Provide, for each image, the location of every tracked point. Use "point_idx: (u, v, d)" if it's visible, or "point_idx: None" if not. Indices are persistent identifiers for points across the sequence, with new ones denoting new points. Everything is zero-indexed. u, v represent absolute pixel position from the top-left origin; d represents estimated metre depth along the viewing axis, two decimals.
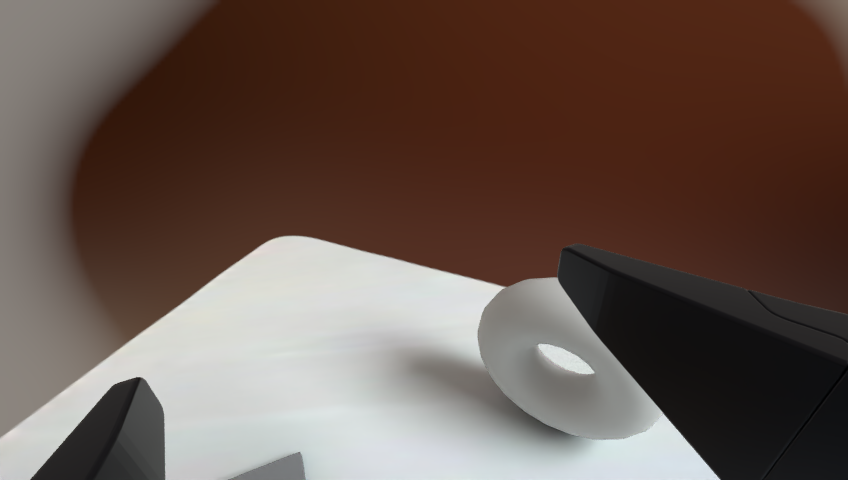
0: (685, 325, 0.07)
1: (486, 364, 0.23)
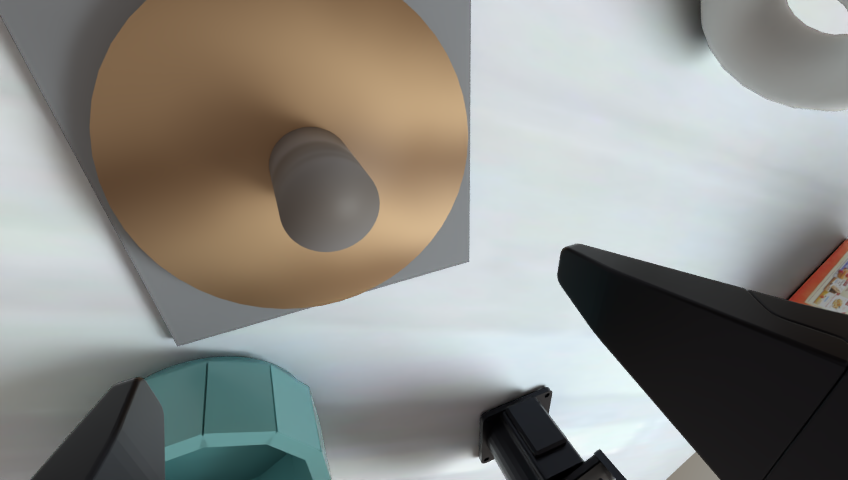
0: (685, 325, 0.07)
1: None
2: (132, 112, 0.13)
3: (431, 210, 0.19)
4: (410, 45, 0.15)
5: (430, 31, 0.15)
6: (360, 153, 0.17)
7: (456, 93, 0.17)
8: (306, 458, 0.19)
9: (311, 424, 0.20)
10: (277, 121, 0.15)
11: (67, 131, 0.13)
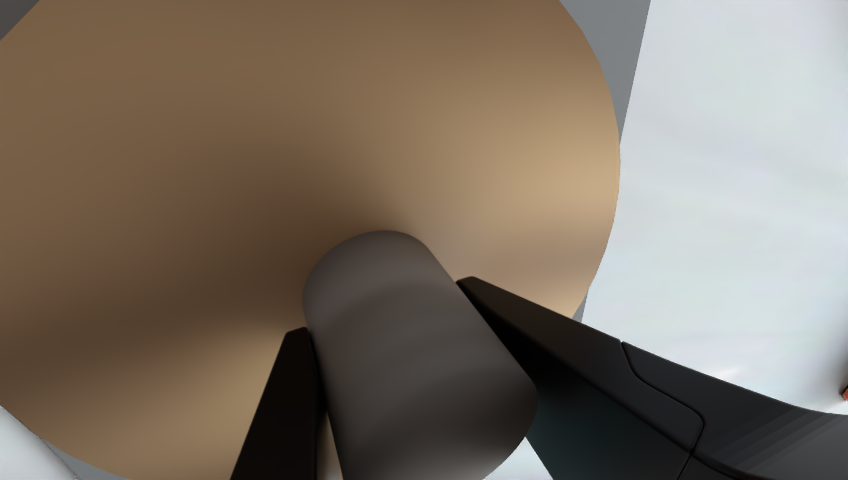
0: (553, 380, 0.06)
1: None
2: (28, 239, 0.06)
3: None
4: (559, 84, 0.09)
5: (594, 58, 0.09)
6: (454, 262, 0.10)
7: (611, 158, 0.10)
8: None
9: None
10: (320, 227, 0.08)
11: None
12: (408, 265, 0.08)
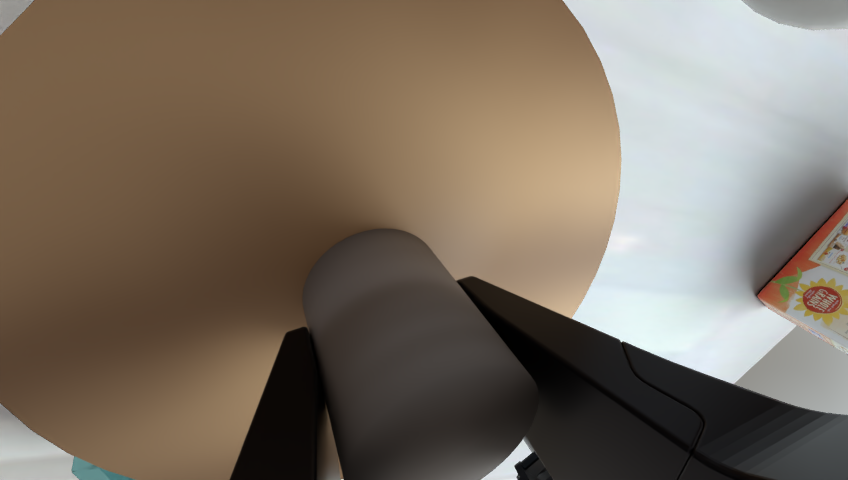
0: (553, 380, 0.06)
1: None
2: (27, 237, 0.06)
3: None
4: (560, 81, 0.09)
5: (595, 56, 0.09)
6: (454, 261, 0.10)
7: (612, 156, 0.10)
8: None
9: None
10: (321, 225, 0.08)
11: None
12: (408, 263, 0.07)
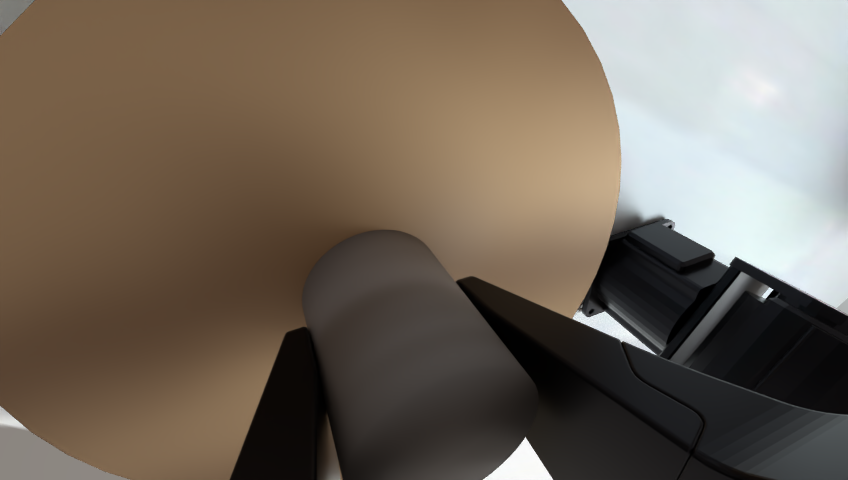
0: (553, 380, 0.06)
1: None
2: (26, 238, 0.06)
3: None
4: (559, 83, 0.08)
5: (595, 57, 0.09)
6: (454, 262, 0.10)
7: (611, 157, 0.10)
8: None
9: None
10: (320, 227, 0.08)
11: None
12: (408, 264, 0.07)
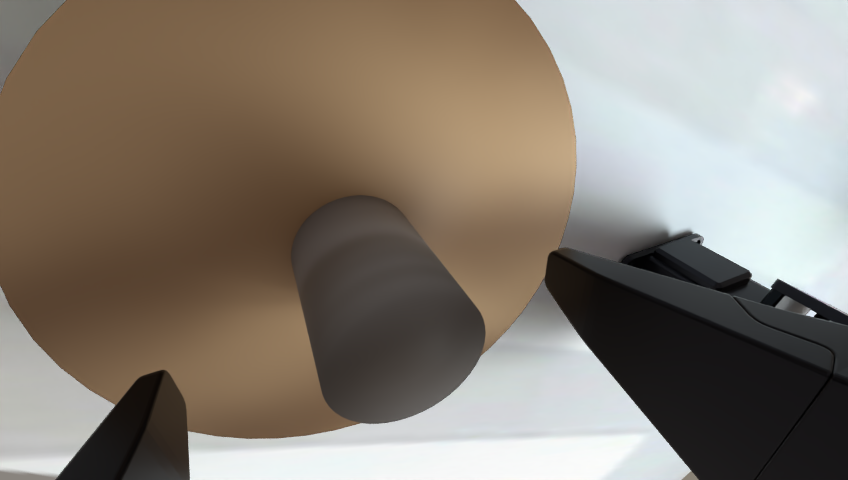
0: (669, 332, 0.07)
1: None
2: (59, 194, 0.07)
3: (513, 291, 0.14)
4: (513, 66, 0.10)
5: (544, 43, 0.10)
6: (426, 227, 0.11)
7: (566, 134, 0.11)
8: None
9: None
10: (305, 191, 0.09)
11: None
12: (379, 220, 0.09)
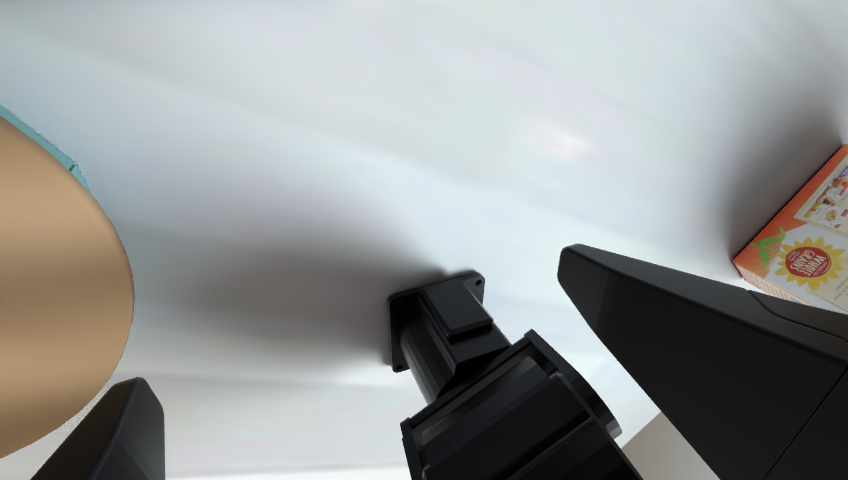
0: (685, 325, 0.07)
1: None
2: None
3: (88, 341, 0.13)
4: None
5: None
6: None
7: (46, 182, 0.10)
8: None
9: None
10: None
11: None
12: None
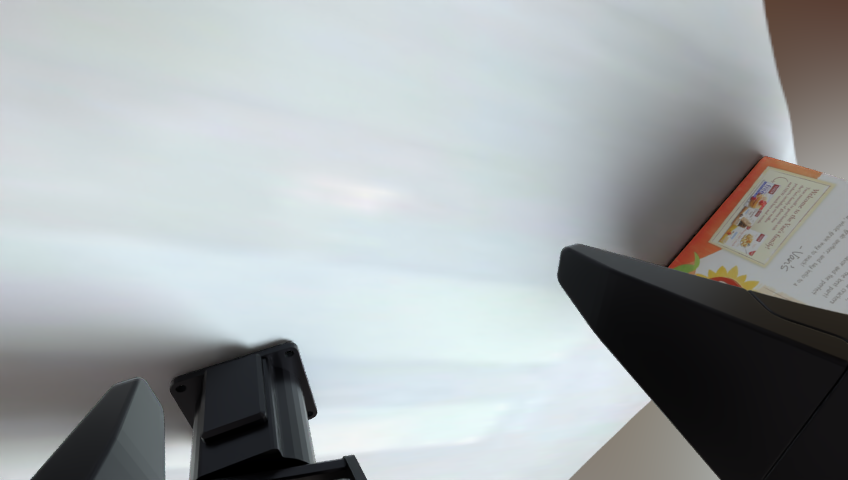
0: (685, 325, 0.07)
1: None
2: None
3: None
4: None
5: None
6: None
7: None
8: None
9: None
10: None
11: None
12: None
